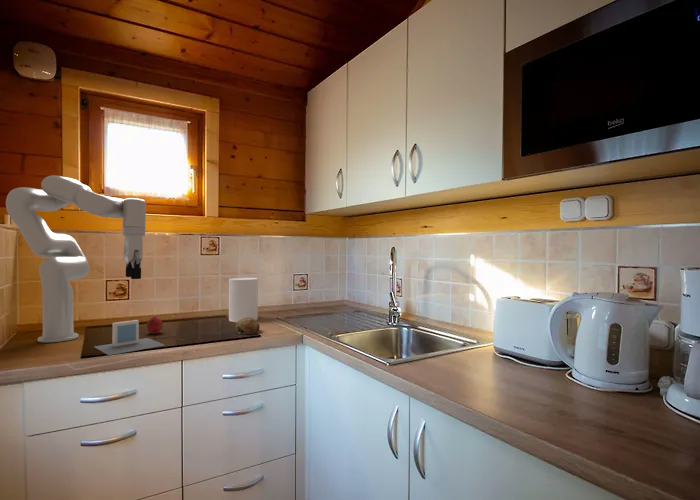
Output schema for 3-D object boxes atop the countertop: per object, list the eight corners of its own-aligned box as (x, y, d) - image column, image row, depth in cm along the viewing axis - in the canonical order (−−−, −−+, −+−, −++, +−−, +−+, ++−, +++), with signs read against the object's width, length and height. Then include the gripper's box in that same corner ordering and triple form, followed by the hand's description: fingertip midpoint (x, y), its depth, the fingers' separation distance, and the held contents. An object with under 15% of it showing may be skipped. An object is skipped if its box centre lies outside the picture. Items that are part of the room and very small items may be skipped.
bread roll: (233, 341, 165) (228, 325, 161) (244, 326, 174) (240, 311, 170) (254, 343, 162) (250, 327, 159) (265, 327, 171) (261, 312, 168)
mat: (93, 348, 139) (93, 346, 139) (147, 339, 152) (147, 337, 152) (108, 357, 128) (108, 355, 128) (165, 346, 141) (165, 345, 141)
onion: (156, 336, 156) (156, 316, 156) (143, 336, 158) (143, 316, 158) (165, 333, 162) (165, 314, 162) (153, 333, 163) (153, 313, 163)
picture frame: (112, 345, 141) (112, 322, 140) (136, 341, 146) (136, 319, 146) (114, 346, 139) (114, 323, 139) (138, 342, 145) (138, 320, 145)
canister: (234, 316, 201) (234, 277, 201) (260, 317, 200) (260, 277, 200) (224, 322, 187) (224, 279, 187) (253, 322, 187) (253, 279, 187)
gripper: (118, 231, 152) (117, 276, 152) (127, 231, 139) (126, 280, 139) (140, 232, 157) (139, 275, 157) (150, 232, 143) (149, 279, 144)
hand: (133, 277), depth 148 cm, fingers open, 9 cm apart
